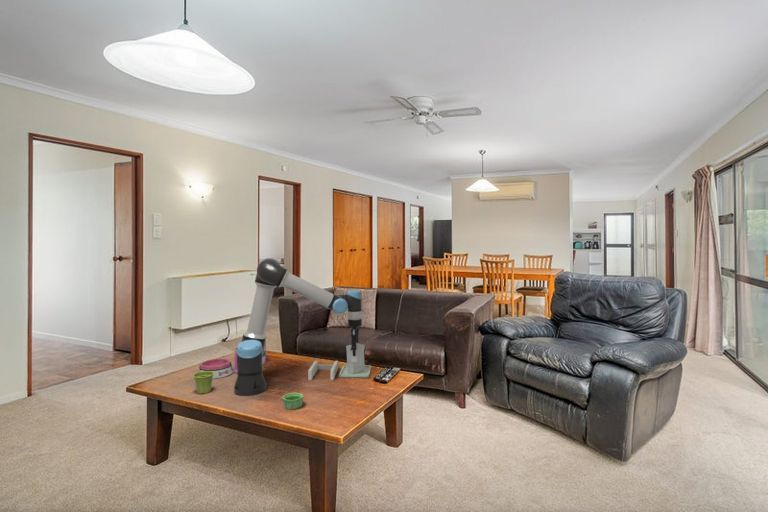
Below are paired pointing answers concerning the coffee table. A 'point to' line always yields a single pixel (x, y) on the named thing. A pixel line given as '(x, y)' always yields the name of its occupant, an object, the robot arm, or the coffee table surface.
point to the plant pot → (203, 381)
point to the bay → (317, 366)
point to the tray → (362, 374)
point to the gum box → (262, 357)
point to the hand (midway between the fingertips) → (355, 359)
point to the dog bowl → (217, 367)
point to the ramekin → (292, 400)
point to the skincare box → (359, 365)
